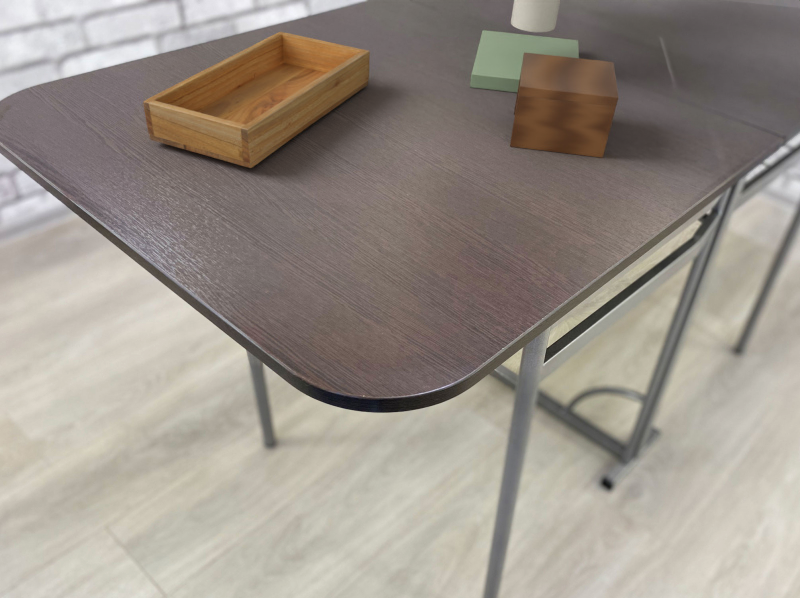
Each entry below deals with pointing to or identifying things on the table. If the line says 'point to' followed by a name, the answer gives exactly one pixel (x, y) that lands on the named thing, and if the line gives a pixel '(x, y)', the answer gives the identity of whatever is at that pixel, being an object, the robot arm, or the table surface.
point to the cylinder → (535, 15)
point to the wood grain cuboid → (564, 104)
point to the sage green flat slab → (512, 57)
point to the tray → (257, 98)
